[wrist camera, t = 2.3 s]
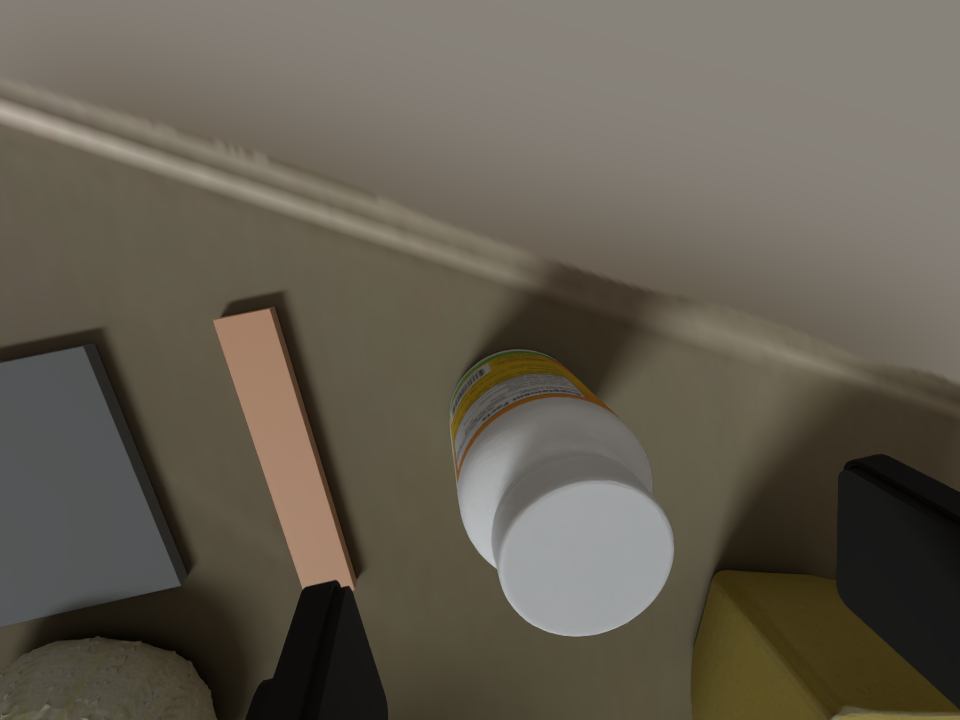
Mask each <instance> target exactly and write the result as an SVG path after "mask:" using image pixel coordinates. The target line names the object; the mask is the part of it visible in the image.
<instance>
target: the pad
mask: <svg viewBox="0 0 960 720" xmlns="http://www.w3.org/2000/svg"><path fill="white" fill-rule="evenodd" d="M187 576H188V575H187V572H186V570H185V567H184V565H183V562H182V560H181V557H180V555H179V552H178V550H177V547H176V545H175V542H174V540H173V537H172V535H171V532H170V530H169V527H168V525H167V522H166V520H165V518H164V515H163V513H162V510H161V508H160V505H159V503H158V500H157V498H156V495H155V493H154V490H153V488H152V485H151V483H150V480H149V478H148V475H147V473H146V470H145V468H144V465H143V463H142V460H141V458H140V455H139V453H138V450H137V448H136V445H135V443H134V440H133V438H132V435H131V433H130V430H129V428H128V425H127V423H126V420H125V418H124V415H123V413H122V410H121V408H120V405H119V403H118V401H117V398H116V396H115V393H114V391H113V388H112V386H111V383H110V381H109V378H108V376H107V373H106V371H105V368H104V366H103V363H102V361H101V358H100V356H99V353H98V351H97V348H96V346H95V343H91V344H86V345H81V346H76V347H71V348H66V349H61V350H56V351H51V352H46V353H42V354H37V355H32V356H27V357H22V358H17V359H12V360H7V361H2V362H0V627H2V626H6V625H10V624H15V623H19V622H24V621H28V620H32V619H37V618H41V617H46V616H50V615H54V614H59V613H63V612H68V611H72V610H76V609H81V608H85V607H90V606H94V605H98V604H103V603H107V602H112V601H116V600H120V599H125V598H129V597H134V596H138V595H142V594H147V593H151V592H156V591H160V590H164V589H169V588H173V587H178V586H181V585H182V584H183V582H184V581H185V579H186V578H187Z"/></svg>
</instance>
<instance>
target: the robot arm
mask: <svg viewBox="0 0 960 720" xmlns="http://www.w3.org/2000/svg"><path fill="white" fill-rule="evenodd" d="M836 586H837V591H838V594H839V596H840V598H841V600H842V601H843V603H844V604H845V605H846V606H847V607H848V608H849V609H850V610H851V611H852V612H853V613H854V614H855V615H856V616H857V617H859V618H860V619H861V620H862V621H863V622H864V623H865V624H866V625H867V626H868V627H870V628H871V629H872V630H873V631H874V632H875V633H876V634H877V635H878V636H879V637H880V638H882V639H883V640H884V641H885V642H886V643H887V644H888V645H889V646H890V647H891V648H893V649H894V650H895V651H896V652H897V653H898V654H899V655H900V656H901V657H902V658H903V659H905V660H906V661H907V662H908V663H909V664H910V665H911V666H912V667H913V668H914V669H916V670H917V671H918V672H919V673H920V674H921V675H922V676H923V677H924V678H925V679H927V680H928V681H929V682H930V683H931V684H932V685H933V686H934V687H935V688H936V689H937V690H939V691H940V692H941V693H942V694H943V695H944V696H945V697H946V698H947V699H948V700H950V701H951V702H952V703H953V704H954V705H955V706H956V707H957V708H958V709H959V710H960V492H958V491H956V490H954V489H952V488H950V487H948V486H946V485H944V484H942V483H941V482H939V481H937V480H935V479H933V478H931V477H929V476H927V475H925V474H923V473H921V472H919V471H917V470H915V469H913V468H911V467H909V466H907V465H905V464H903V463H901V462H899V461H897V460H895V459H893V458H891V457H889V456H886V455H883V454H877V455H872V456H868V457H864V458H859V459H855V460H851V461H849V462H847V463H846V465H845V466H844V471H842V472H841V473H840V474H839V478H838V524H837V574H836ZM245 720H388V709H387V701H386V697H385V693H384V690H383V687H382V684H381V680H380V677H379V674H378V671H377V668H376V665H375V661H374V658H373V655H372V652H371V649H370V646H369V642H368V639H367V636H366V633H365V630H364V627H363V624H362V620H361V617H360V614H359V611H358V608H357V605H356V601H355V598H354V595H353V592H352V589H351V588H350V586H344V587H341V585H340V583H339V582H338V581H337V580H332V581H328V582H324V583H320V584H315V585H311V586H307V587H305V588H303V590H302V592H301V595H300V598H299V601H298V604H297V607H296V610H295V613H294V616H293V619H292V622H291V626H290V629H289V632H288V635H287V638H286V641H285V644H284V647H283V650H282V653H281V656H280V659H279V662H278V665H277V668H276V671H275V674H274V677H273V678H272V679H268V680H264V681H263V682H262V683H261V684H260V685H259V686H258V688H257V690H256V692H255V694H254V696H253V699H252V702H251V705H250V708H249V710H248V713H247V716H246V719H245Z"/></svg>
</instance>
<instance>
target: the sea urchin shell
mask: <svg viewBox="0 0 960 720" xmlns="http://www.w3.org/2000/svg"><path fill="white" fill-rule="evenodd" d="M0 720H218V719H217V718H216V715H215V712H214V707H213V700H212V698H211V690H210V689H208V685H206V684H205V682H204V681H203V680H202V679H201V678H200V677H199V675H198V673H197V671H196V670H195V668H194V667H193V664H192V661H188V660H185V659H184V658H183V657H181V656H179V655H177V654H176V652H175V651H168V650H164V649H161V648H157V647H153V646H151V645H150V644H145V643H143V642H141V641H136V642H132V641H120V640H114V639H106V638H105V637H102V638H101V637H99V636H97V637H95V638H86V639H81V640H63V641H55V642H53V643H50V644H47V645H45V646H42V647H40V648H38V649H33V650H32V651H31V652H30V653H24V654H23V655H21V656H20V657H19V658H18V659H17V660H15V661H14V662H13V663H11V664H10V665H9V666H7V667H6V668H5V669H4V670H3V671H2V672H1V673H0Z"/></svg>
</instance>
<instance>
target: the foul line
mask: <svg viewBox="0 0 960 720" xmlns="http://www.w3.org/2000/svg"><path fill="white" fill-rule="evenodd" d="M213 322H214V325H215V328H216V331H217V334H218V337H219V340H220V343H221V346H222V349H223V352H224V355H225V358H226V361H227V364H228V367H229V370H230V373H231V376H232V379H233V382H234V385H235V388H236V391H237V394H238V397H239V400H240V403H241V406H242V409H243V412H244V415H245V418H246V421H247V424H248V427H249V430H250V433H251V436H252V439H253V442H254V445H255V448H256V451H257V453H258V456H259V459H260V462H261V465H262V468H263V471H264V474H265V477H266V480H267V483H268V486H269V489H270V492H271V495H272V498H273V501H274V504H275V507H276V510H277V513H278V516H279V519H280V522H281V525H282V528H283V531H284V534H285V537H286V540H287V543H288V546H289V549H290V552H291V555H292V558H293V561H294V564H295V567H296V570H297V573H298V576H299V579H300V582H301V585H302V588H305V587H307V586H311V585H315V584H320V583H324V582H328V581H332V580H337V581H338V582H339V583H340V585H341V587H344V586H350V588H351V589H352V591H353V590H355V586H356V581H357V580H356V576H355V573H354V570H353V566H352V563H351V560H350V556H349V553H348V550H347V546H346V543H345V540H344V536H343V533H342V530H341V526H340V523H339V520H338V516H337V513H336V510H335V506H334V503H333V500H332V496H331V493H330V490H329V486H328V483H327V480H326V476H325V473H324V470H323V466H322V463H321V460H320V456H319V453H318V450H317V446H316V443H315V440H314V436H313V433H312V430H311V426H310V423H309V420H308V416H307V413H306V410H305V406H304V403H303V400H302V396H301V393H300V390H299V386H298V383H297V380H296V376H295V373H294V370H293V366H292V363H291V360H290V356H289V353H288V350H287V346H286V343H285V340H284V336H283V333H282V330H281V326H280V323H279V320H278V316H277V313H276V310H275V306H274V307H270V308H265V309H260V310H255V311H250V312H245V313H240V314H235V315H230V316H225V317H220V318H217V319H215V320H213Z"/></svg>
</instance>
